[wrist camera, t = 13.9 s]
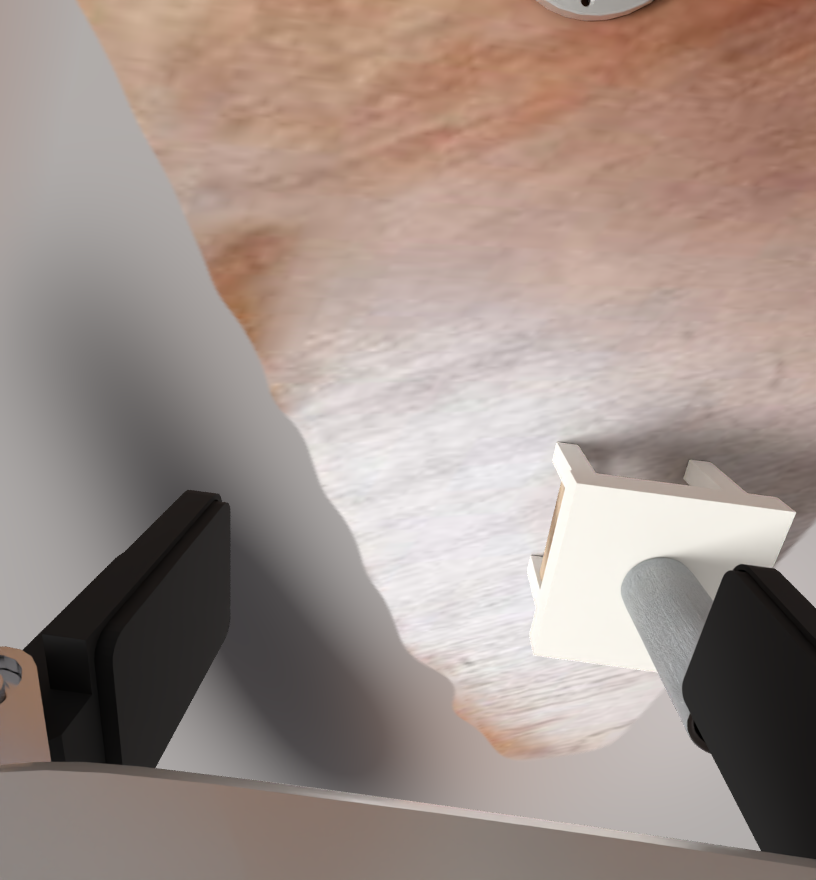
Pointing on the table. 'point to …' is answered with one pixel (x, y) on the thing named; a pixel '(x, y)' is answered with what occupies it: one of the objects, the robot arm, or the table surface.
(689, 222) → the table surface
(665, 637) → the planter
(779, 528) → the stool
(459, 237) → the table surface
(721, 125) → the table surface
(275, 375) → the table surface
